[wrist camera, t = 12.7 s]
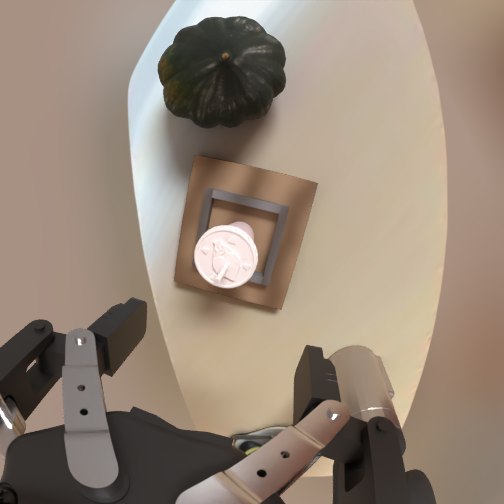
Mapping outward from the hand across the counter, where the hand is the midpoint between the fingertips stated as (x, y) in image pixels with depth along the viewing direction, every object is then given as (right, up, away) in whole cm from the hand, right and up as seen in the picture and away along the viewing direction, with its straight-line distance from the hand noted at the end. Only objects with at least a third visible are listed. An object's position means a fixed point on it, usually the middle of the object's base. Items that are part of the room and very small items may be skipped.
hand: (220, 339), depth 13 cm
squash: (-1, +27, +20) cm, 33 cm away
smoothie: (0, +6, +24) cm, 25 cm away
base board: (0, +7, +25) cm, 26 cm away
